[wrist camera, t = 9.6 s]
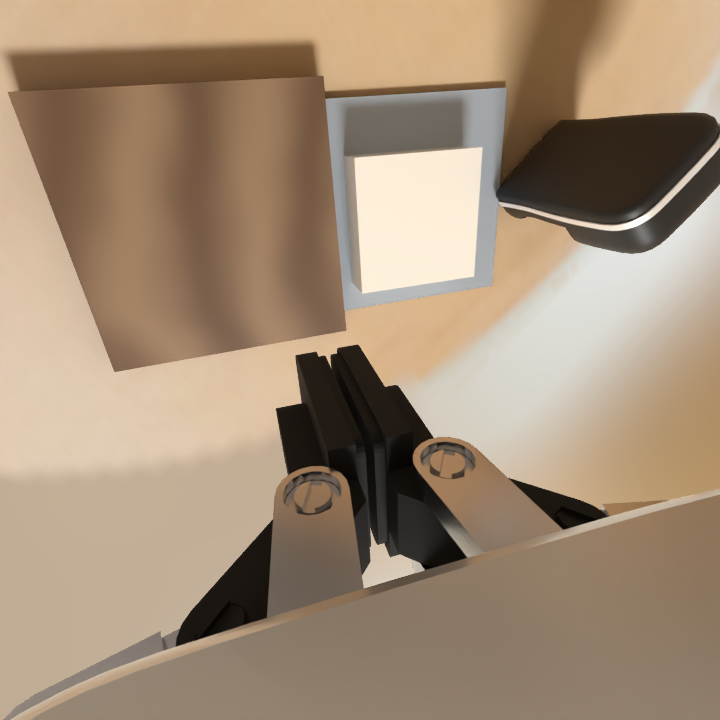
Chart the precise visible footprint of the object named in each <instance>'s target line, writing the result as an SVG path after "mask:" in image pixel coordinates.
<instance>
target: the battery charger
mask: <svg viewBox="0 0 720 720" xmlns="http://www.w3.org/2000/svg"><path fill="white" fill-rule="evenodd" d="M719 184H720V124H719V123H718V122H717V121H716V119H715V118H714V117H712V116H710V115H708V114H706V113H659V114H642V115H631V116H619V117H609V118H600V119H582V120H561V121H559V122H558V123H557V124H556V125H555V126H554V127H553V128H552V130H551V131H550V132H549V133H548V134H547V135H546V136H545V137H544V138H543V139H542V140H541V141H540V143H539V144H538V145H537V146H536V147H535V148H534V149H533V150H532V151H531V152H530V154H529V155H528V156H527V157H526V158H525V159H524V160H523V161H522V163H521V164H520V165H519V166H518V167H517V168H516V169H515V170H514V172H513V173H512V174H511V175H510V176H509V177H508V178H507V179H506V181H505V182H504V183H503V184H502V185H501V186H500V188H499V189H498V190H497V191H496V197H497V199H498V203H499V204H500V206H503V207H504V209H505V210H506V212H508V213H509V214H510V215H511V216H513V217H516V218H519V219H521V218H526V217H527V216H528V217H533V218H537V219H540V220H543V221H546V222H549V223H553V224H556V225H559V226H563V227H566V229H567V231H568V232H569V234H570V235H571V237H572V238H573V239H574V240H575V241H577V242H579V243H583V244H586V245H590V246H594V247H598V248H602V249H606V250H611V251H616V252H621V253H630V254H634V253H642V252H646V251H648V250H651V249H653V248H655V247H656V246H658V245H660V244H661V243H662V242H663V241H665V240H666V239H667V238H668V237H669V236H670V235H671V234H672V233H673V232H674V231H675V230H676V229H677V228H678V227H679V226H680V225H681V224H682V223H683V222H684V221H685V220H686V219H687V218H688V217H689V216H690V215H691V214H692V213H693V212H694V211H695V210H696V209H697V208H698V207H699V206H700V205H701V204H702V203H703V202H704V201H705V200H706V199H707V197H708V196H709V195H710V194H711V193H712V192H713V191H714V190H715V189H716V188H717V187H718V186H719Z"/></svg>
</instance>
